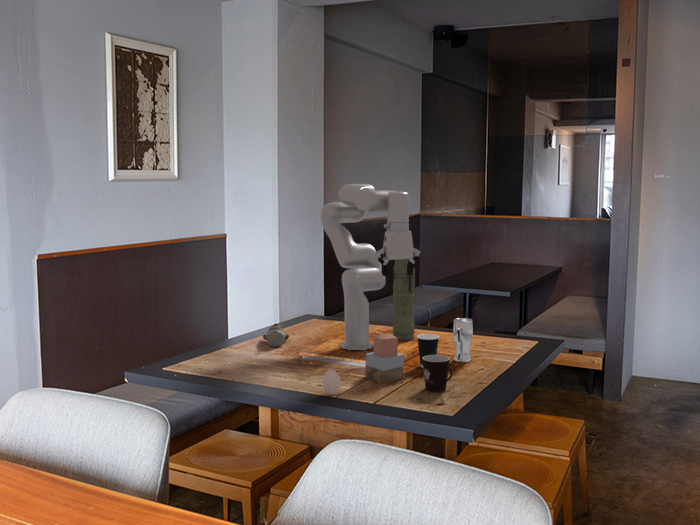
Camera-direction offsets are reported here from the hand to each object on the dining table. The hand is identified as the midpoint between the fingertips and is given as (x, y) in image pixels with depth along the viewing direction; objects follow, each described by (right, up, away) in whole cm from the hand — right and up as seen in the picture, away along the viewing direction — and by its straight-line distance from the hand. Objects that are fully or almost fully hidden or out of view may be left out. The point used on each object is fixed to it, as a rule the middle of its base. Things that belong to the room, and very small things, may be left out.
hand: (397, 275), depth 252 cm
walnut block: (-5, -34, -14) cm, 37 cm away
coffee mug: (+10, -36, -28) cm, 47 cm away
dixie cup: (+11, -33, 0) cm, 34 cm away
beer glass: (+24, -31, +9) cm, 41 cm away
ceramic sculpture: (-47, -29, +35) cm, 65 cm away
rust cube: (-5, -26, -15) cm, 31 cm away
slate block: (-5, -30, -14) cm, 34 cm away
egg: (-23, -37, -32) cm, 54 cm away
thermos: (+5, -27, +44) cm, 52 cm away
